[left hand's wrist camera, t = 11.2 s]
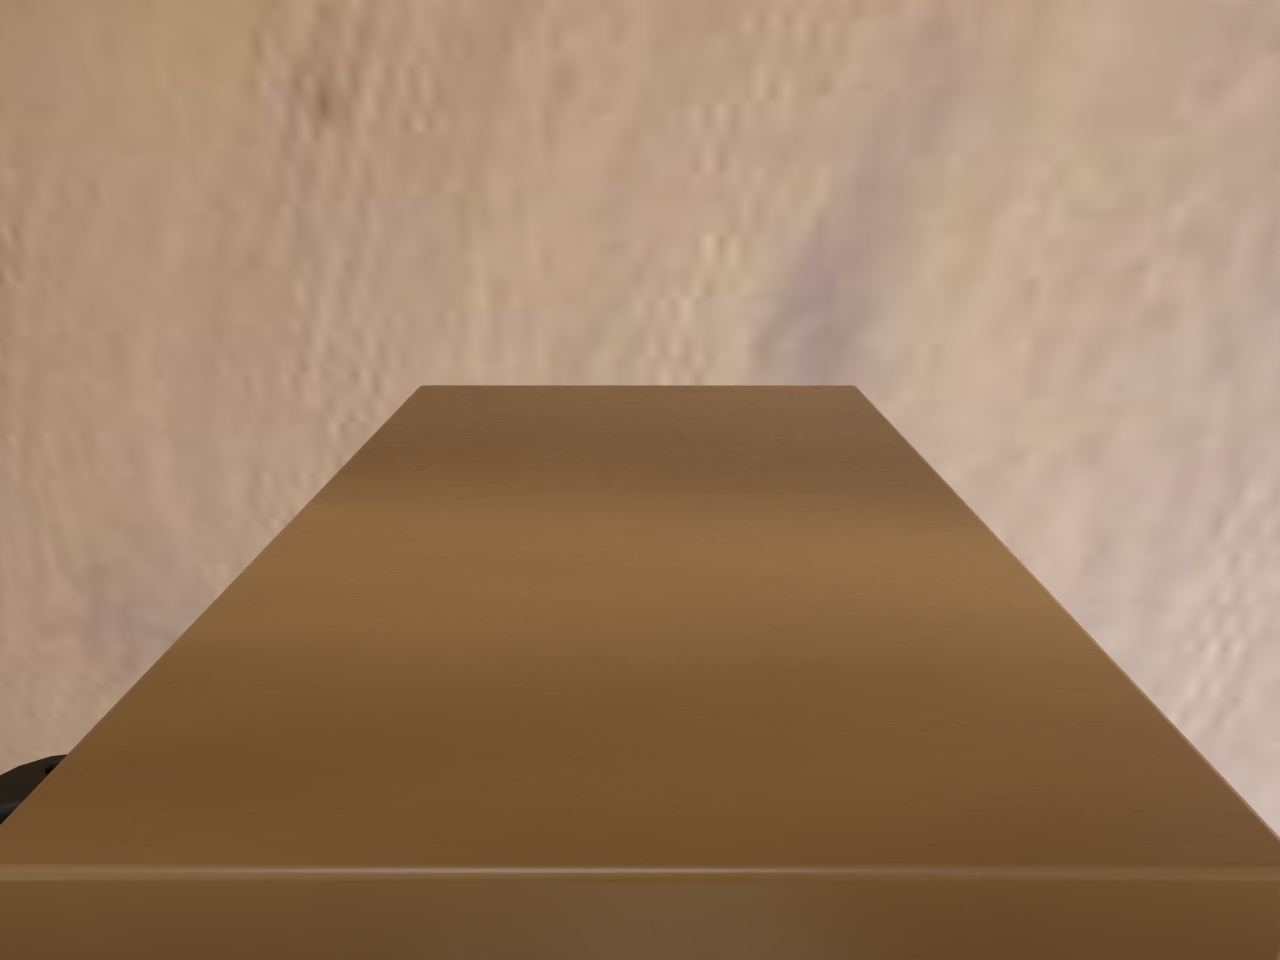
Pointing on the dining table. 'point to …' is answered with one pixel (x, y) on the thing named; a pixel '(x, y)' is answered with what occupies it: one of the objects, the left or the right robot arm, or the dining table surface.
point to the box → (636, 720)
